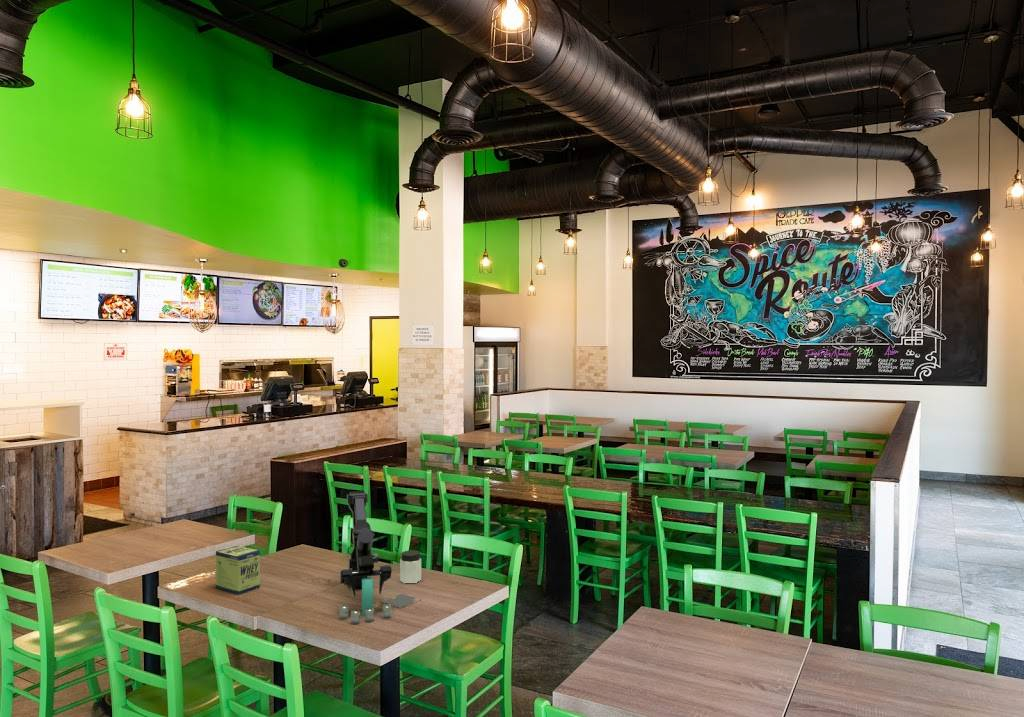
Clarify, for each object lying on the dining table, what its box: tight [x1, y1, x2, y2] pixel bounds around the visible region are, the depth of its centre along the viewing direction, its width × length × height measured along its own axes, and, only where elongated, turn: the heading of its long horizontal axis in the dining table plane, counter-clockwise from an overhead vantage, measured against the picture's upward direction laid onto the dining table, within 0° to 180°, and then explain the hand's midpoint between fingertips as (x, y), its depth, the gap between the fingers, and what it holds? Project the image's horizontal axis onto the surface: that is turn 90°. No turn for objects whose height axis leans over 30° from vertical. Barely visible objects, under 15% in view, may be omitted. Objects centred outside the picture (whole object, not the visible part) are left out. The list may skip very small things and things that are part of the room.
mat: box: [381, 593, 416, 608], centre depth 274 cm, size 11×11×1 cm
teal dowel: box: [361, 576, 374, 617], centre depth 260 cm, size 4×4×13 cm
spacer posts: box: [339, 604, 392, 625], centre depth 257 cm, size 15×14×4 cm
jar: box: [399, 549, 422, 584], centre depth 299 cm, size 9×8×12 cm
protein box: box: [215, 545, 261, 595], centre depth 290 cm, size 10×16×16 cm
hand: (367, 595), depth 259 cm, fingers open, 9 cm apart
